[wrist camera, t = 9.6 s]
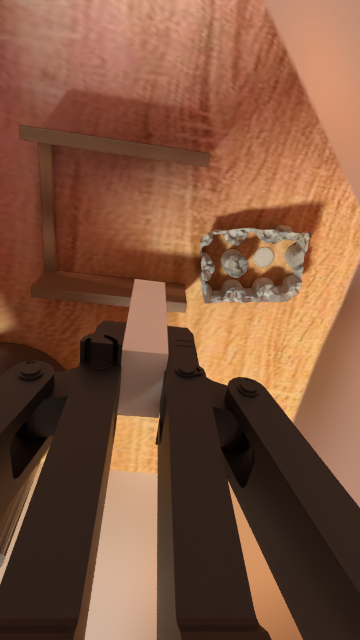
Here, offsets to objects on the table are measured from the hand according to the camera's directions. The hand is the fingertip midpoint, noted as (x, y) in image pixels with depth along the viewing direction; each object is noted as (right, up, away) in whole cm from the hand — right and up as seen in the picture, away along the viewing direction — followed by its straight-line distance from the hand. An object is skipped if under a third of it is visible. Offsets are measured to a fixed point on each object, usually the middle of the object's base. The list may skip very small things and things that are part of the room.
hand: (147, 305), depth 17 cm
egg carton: (+9, +6, +19) cm, 22 cm away
